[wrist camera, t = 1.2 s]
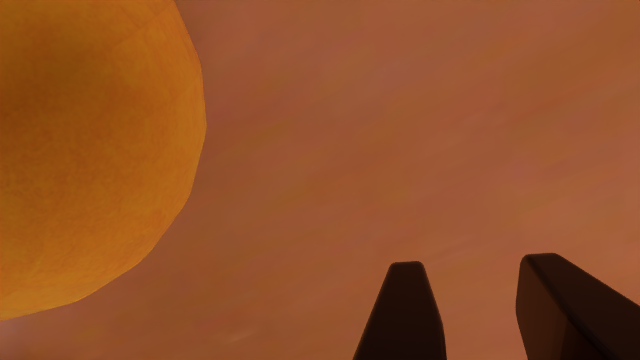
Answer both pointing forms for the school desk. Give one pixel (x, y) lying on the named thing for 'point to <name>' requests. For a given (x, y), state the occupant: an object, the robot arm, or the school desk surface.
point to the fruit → (91, 142)
